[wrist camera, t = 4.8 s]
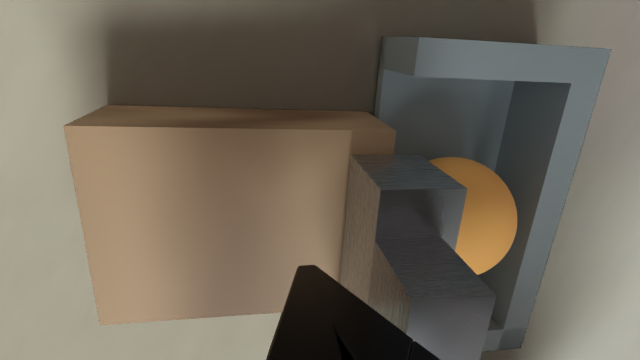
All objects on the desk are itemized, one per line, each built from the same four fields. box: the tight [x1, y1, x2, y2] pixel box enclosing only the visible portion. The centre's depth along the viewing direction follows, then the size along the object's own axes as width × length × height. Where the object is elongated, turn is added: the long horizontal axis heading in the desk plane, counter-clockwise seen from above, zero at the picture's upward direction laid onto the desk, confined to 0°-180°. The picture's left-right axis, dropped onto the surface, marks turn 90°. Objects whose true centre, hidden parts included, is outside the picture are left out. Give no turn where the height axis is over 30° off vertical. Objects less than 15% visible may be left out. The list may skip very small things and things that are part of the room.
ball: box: [429, 157, 517, 275], centre depth 13 cm, size 4×4×4 cm
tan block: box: [64, 105, 396, 325], centre depth 12 cm, size 8×6×3 cm
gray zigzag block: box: [340, 154, 497, 360], centre depth 9 cm, size 2×5×5 cm, turn 177°
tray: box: [374, 37, 611, 352], centre depth 14 cm, size 6×11×3 cm, turn 177°
